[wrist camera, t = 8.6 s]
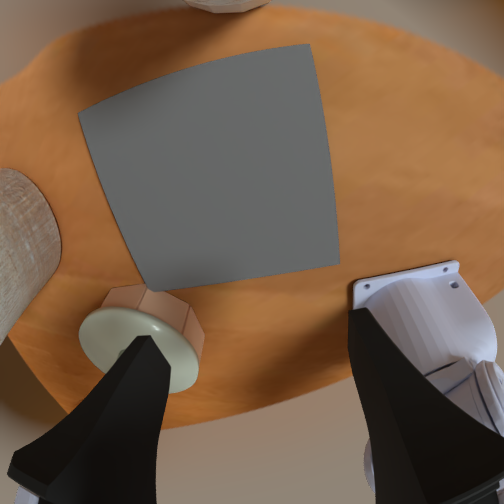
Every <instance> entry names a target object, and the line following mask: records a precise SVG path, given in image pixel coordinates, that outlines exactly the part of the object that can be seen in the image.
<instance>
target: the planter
mask: <svg viewBox="0 0 504 504" xmlns="http://www.w3.org/2000/svg"><path fill="white" fill-rule="evenodd" d="M60 258H61V238H60V233H59V229H58V225H57V222H56V219H55V216H54V214H53V212H52V209H51V207H50V205H49V204H48V202H47V200H46V198H45V197H44V195H43V194H42V192H41V191H40V190H39V188H38V187H37V186H36V185H35V184H34V183H33V182H32V181H31V180H30V179H29V178H28V177H27V176H25V175H24V174H23V173H21V172H19V171H17V170H14V169H11V168H2V169H0V345H1V343H2V342H3V340H4V339H5V337H6V336H7V334H8V333H9V331H10V330H11V328H12V327H13V326H14V324H15V323H16V321H17V320H18V318H19V317H20V316H21V314H22V313H23V312H24V310H25V309H26V308H27V306H28V305H29V304H30V302H31V301H32V300H33V299H34V297H35V296H36V295H37V294H38V292H39V291H40V290H41V289H42V287H43V286H44V285H45V284H46V282H47V281H48V280H49V279H50V278H51V276H52V275H53V274H54V272H55V270H56V269H57V267H58V265H59V262H60Z"/></svg>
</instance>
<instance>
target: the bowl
mask: <svg viewBox="0 0 504 504" xmlns="http://www.w3.org/2000/svg"><path fill="white" fill-rule="evenodd" d="M110 306H114V307H125V308H130V309H135V310H138V311H141V312H144V313H147V314H149V315H152V316H154V317H156V318H158V319H160V320H162V321H164V322H166V323H167V324H169V325H171V326H172V327H173V328H175V329H176V330H178V331H179V332H180V333H181V334H182V335H183V336H185V338H186V339H187V340H188V341H189V342H190V343H191V344H192V346H193V347H194V349H195V350H196V352H197V355H198V357H199V364H200V359H201V354H202V348H203V343H204V338H205V334H204V332H203V330H202V328H201V326H200V324H199V322H198V320H197V317H196V315H195V313H194V311H193V309H192V307H191V306H189V304H188V303H186V302H184V301H182V300H180V299H178V298H176V297H174V296H172V295H170V294H168V293H166V292H164V291H160V292H153V291H151V290H149V289H148V288H147V286H146V284H138V285H131V286H124V287H117V288H112V289H111V290H110V291H109V293H108V295H107V297H106V298H105V300H104V302H103V303H102V305H101V307H100V308H102V307H110Z"/></svg>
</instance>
